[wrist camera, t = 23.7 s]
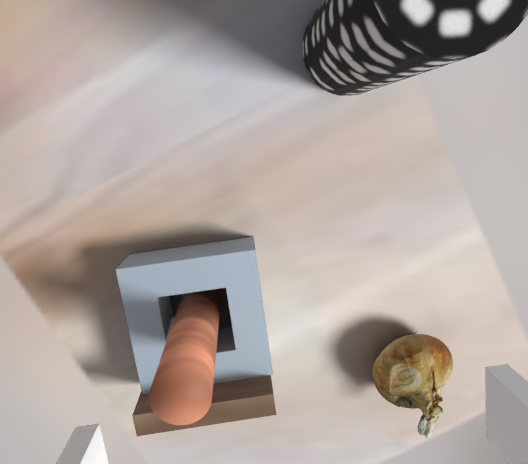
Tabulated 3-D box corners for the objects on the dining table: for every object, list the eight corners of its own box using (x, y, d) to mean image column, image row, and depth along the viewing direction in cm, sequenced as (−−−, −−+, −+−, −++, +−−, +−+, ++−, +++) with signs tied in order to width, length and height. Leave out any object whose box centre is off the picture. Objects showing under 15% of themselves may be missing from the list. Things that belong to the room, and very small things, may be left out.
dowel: (176, 287, 43) (143, 374, 28) (217, 281, 43) (206, 365, 28) (183, 325, 44) (155, 429, 29) (223, 319, 44) (216, 420, 29)
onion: (452, 351, 47) (496, 394, 39) (398, 402, 48) (430, 454, 40) (405, 306, 45) (440, 341, 37) (350, 359, 46) (373, 405, 38)
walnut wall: (150, 366, 45) (132, 415, 37) (266, 349, 45) (273, 394, 37) (154, 384, 45) (137, 436, 38) (269, 366, 46) (276, 414, 38)
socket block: (129, 253, 42) (115, 269, 37) (253, 236, 43) (255, 249, 38) (152, 366, 45) (142, 394, 40) (269, 349, 45) (272, 374, 40)
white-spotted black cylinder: (393, 93, 41) (539, 55, 21) (304, 98, 40) (367, 63, 21) (394, -5, 39) (554, -148, 19) (300, -2, 38) (366, -143, 19)
